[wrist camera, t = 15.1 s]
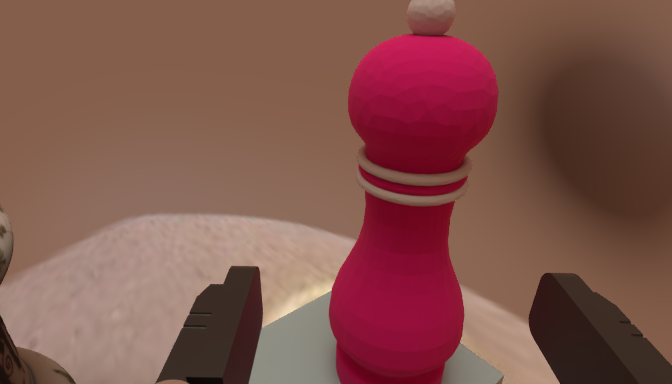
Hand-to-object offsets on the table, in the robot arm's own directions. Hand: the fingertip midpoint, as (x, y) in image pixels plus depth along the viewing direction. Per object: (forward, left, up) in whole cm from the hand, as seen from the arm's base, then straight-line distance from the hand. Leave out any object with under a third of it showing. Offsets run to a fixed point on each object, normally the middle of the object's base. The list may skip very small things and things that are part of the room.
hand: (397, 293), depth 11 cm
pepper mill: (-5, +6, -12) cm, 14 cm away
